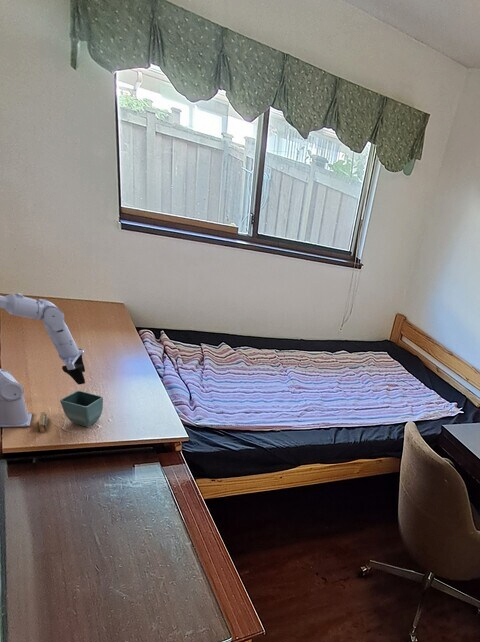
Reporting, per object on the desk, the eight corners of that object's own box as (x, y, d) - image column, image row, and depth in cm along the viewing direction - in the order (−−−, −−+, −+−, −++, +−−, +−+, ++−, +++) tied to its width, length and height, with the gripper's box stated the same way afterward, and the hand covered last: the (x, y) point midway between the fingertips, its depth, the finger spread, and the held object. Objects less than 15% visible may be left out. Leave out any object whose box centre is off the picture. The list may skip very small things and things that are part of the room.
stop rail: (40, 432, 142) (38, 424, 140) (42, 419, 147) (40, 412, 146) (46, 432, 143) (44, 424, 141) (48, 419, 148) (46, 412, 147)
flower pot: (107, 420, 155) (103, 396, 150) (90, 431, 148) (86, 407, 143) (81, 413, 155) (77, 389, 150) (63, 424, 148) (59, 400, 143)
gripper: (77, 349, 139) (95, 386, 149) (77, 328, 148) (94, 364, 158) (50, 353, 137) (71, 390, 146) (52, 331, 146) (71, 368, 155)
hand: (81, 377), depth 152 cm, fingers open, 7 cm apart
